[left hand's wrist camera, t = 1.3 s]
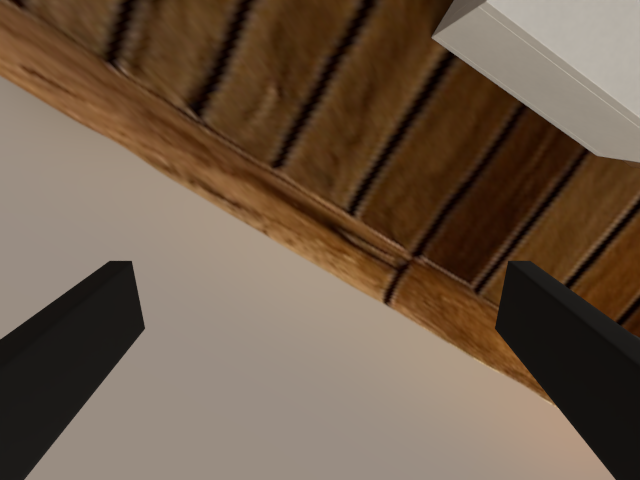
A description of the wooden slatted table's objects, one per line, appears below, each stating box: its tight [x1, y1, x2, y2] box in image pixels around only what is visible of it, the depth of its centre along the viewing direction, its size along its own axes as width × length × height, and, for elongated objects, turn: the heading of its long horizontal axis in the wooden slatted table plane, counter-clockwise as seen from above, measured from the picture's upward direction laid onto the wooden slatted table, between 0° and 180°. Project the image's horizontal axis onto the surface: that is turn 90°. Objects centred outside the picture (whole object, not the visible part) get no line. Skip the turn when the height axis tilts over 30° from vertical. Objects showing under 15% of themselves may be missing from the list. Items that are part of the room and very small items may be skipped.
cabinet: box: [431, 0, 640, 162], centre depth 26 cm, size 20×10×11 cm, turn 59°
